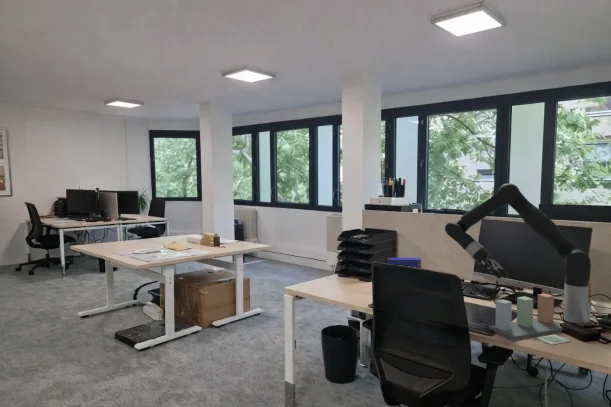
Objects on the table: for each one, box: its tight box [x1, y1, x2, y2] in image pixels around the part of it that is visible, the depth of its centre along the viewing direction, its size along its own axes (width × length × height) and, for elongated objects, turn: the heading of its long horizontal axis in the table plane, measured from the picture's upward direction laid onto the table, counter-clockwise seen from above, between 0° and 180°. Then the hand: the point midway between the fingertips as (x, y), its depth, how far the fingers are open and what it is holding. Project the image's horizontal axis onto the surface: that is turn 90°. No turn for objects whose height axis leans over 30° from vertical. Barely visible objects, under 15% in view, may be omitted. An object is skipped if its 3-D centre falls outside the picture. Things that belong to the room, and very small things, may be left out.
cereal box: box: [387, 257, 422, 269], centre depth 218 cm, size 17×5×24 cm, turn 84°
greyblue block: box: [494, 299, 513, 331], centre depth 173 cm, size 4×4×12 cm
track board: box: [488, 317, 563, 341], centre depth 175 cm, size 31×13×2 cm, turn 108°
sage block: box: [516, 296, 534, 327], centre depth 176 cm, size 4×4×12 cm
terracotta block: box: [536, 293, 555, 323], centre depth 180 cm, size 4×4×12 cm
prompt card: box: [536, 333, 571, 346], centre depth 164 cm, size 10×7×1 cm
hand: (504, 277), depth 185 cm, fingers open, 8 cm apart
